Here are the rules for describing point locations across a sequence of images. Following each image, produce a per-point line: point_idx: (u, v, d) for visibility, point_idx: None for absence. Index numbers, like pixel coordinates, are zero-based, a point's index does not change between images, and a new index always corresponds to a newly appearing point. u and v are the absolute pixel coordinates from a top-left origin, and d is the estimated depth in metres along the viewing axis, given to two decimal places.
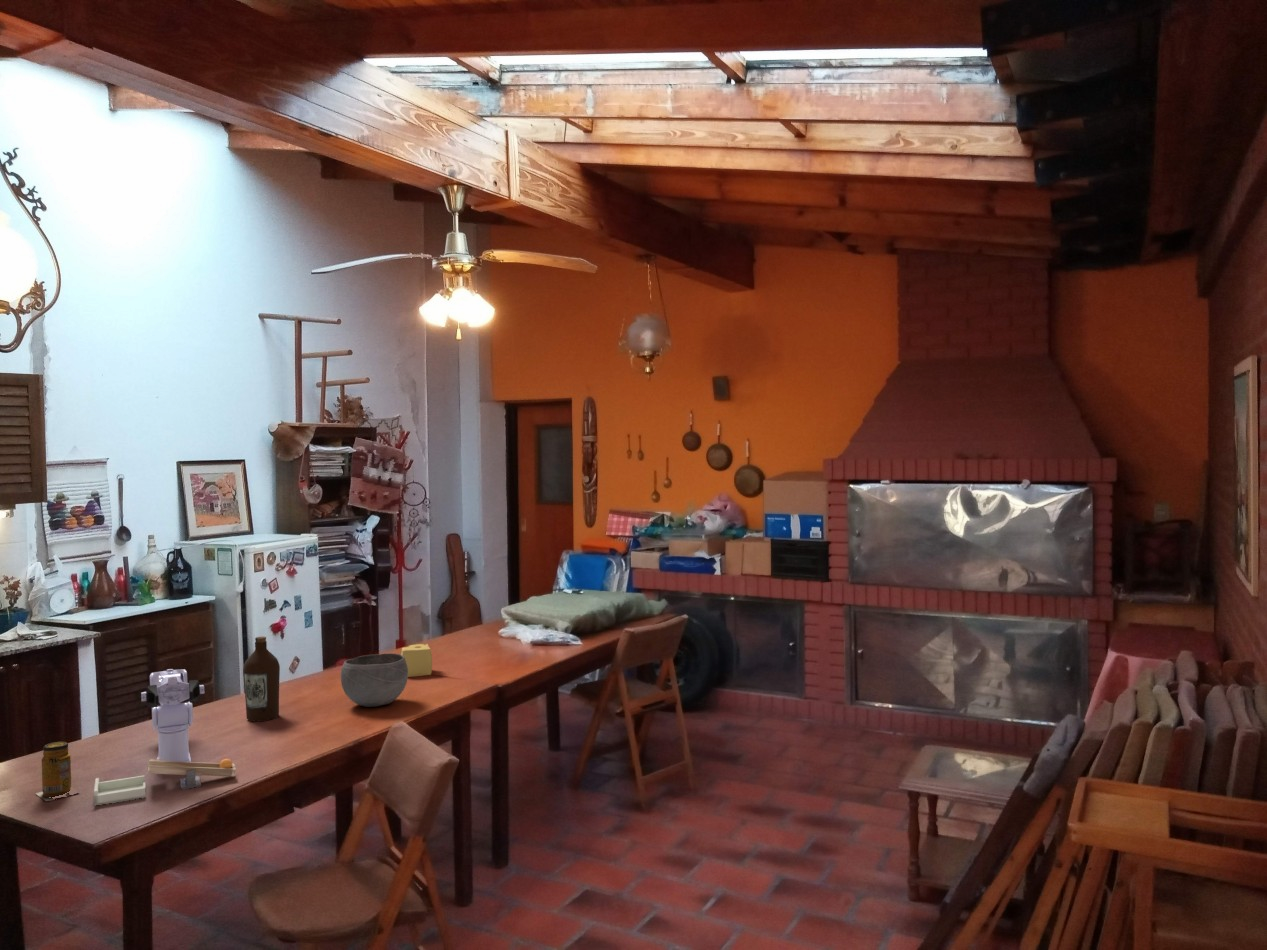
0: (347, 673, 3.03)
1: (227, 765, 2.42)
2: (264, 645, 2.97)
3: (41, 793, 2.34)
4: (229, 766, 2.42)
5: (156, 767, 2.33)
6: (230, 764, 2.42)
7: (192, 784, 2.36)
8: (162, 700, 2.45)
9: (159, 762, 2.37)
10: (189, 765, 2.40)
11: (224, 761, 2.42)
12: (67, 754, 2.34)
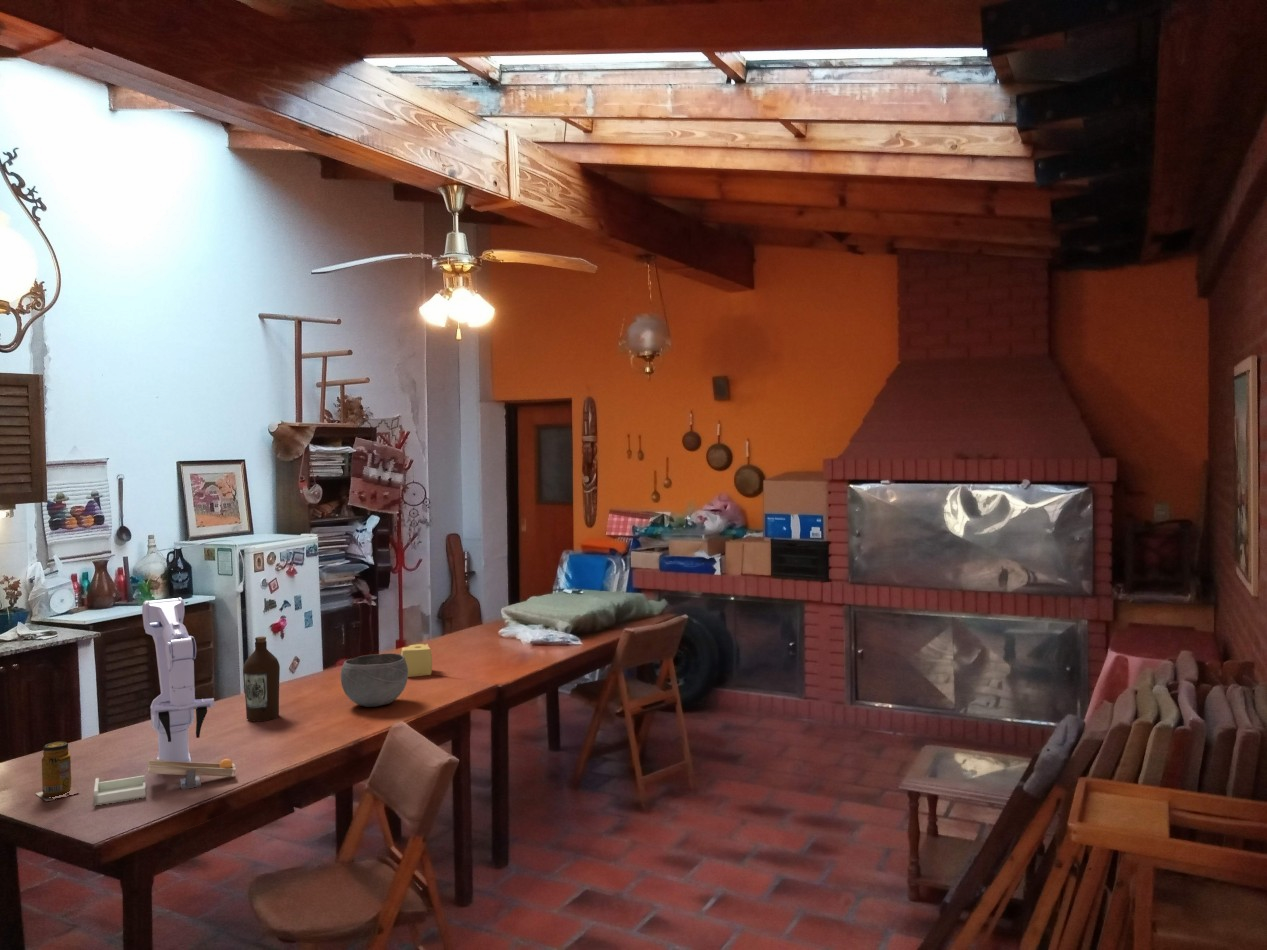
0: (347, 673, 3.03)
1: (227, 765, 2.42)
2: (264, 645, 2.97)
3: (41, 793, 2.34)
4: (229, 766, 2.42)
5: (156, 767, 2.33)
6: (230, 764, 2.42)
7: (192, 784, 2.36)
8: None
9: (159, 762, 2.37)
10: (189, 765, 2.40)
11: (224, 761, 2.42)
12: (67, 754, 2.34)
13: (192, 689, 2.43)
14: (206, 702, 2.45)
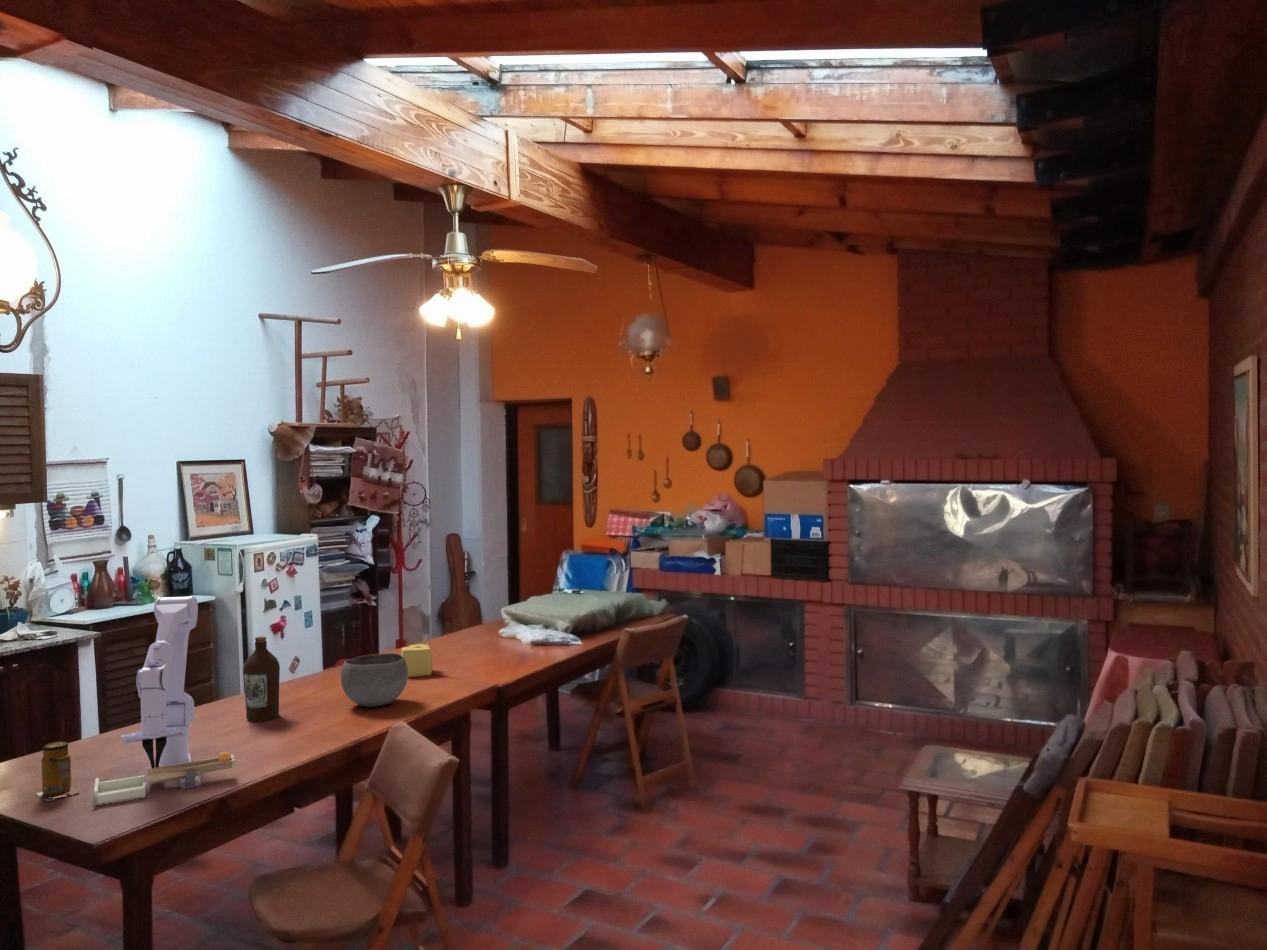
0: (347, 673, 3.03)
1: (225, 758, 2.41)
2: (264, 645, 2.97)
3: (41, 793, 2.34)
4: (228, 758, 2.42)
5: (154, 775, 2.33)
6: (228, 756, 2.42)
7: (192, 784, 2.36)
8: None
9: (157, 769, 2.37)
10: (188, 765, 2.40)
11: (221, 755, 2.42)
12: (67, 754, 2.34)
13: (164, 718, 2.41)
14: (178, 730, 2.43)
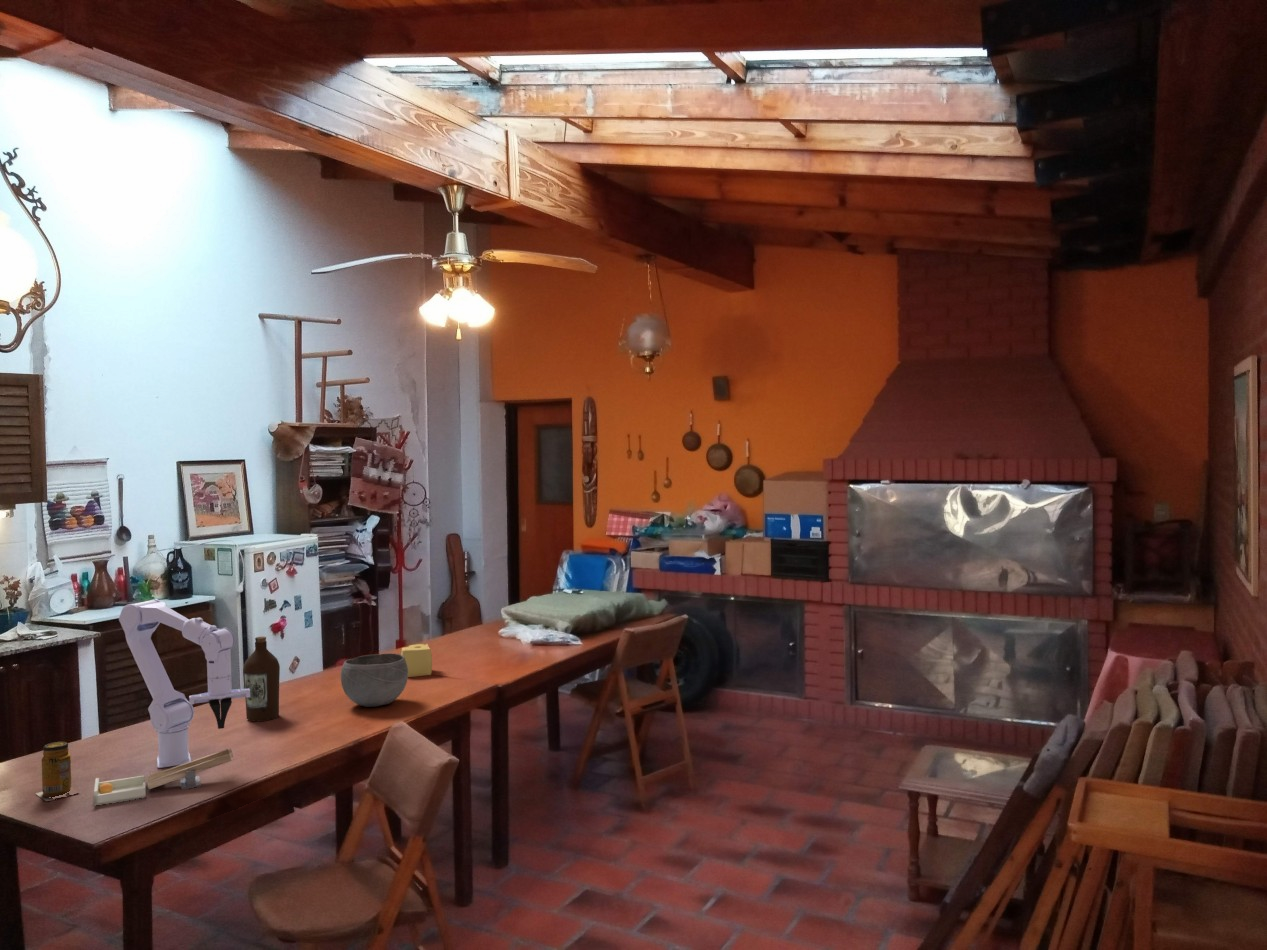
0: (347, 673, 3.03)
1: (107, 790, 2.29)
2: (264, 645, 2.97)
3: (41, 793, 2.34)
4: (108, 792, 2.30)
5: (154, 781, 2.33)
6: (110, 790, 2.30)
7: (192, 784, 2.36)
8: None
9: (157, 774, 2.37)
10: (187, 766, 2.40)
11: (105, 785, 2.30)
12: (67, 754, 2.34)
13: (229, 679, 2.51)
14: (243, 691, 2.52)
